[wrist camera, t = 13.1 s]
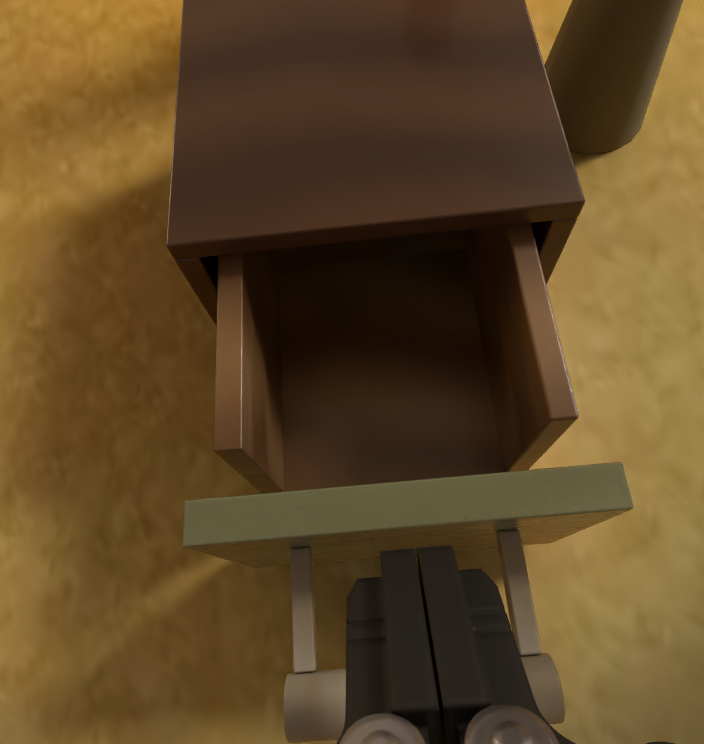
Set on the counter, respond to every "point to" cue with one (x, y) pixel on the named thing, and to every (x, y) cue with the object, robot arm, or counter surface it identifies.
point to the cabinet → (361, 128)
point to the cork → (608, 68)
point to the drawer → (393, 426)
